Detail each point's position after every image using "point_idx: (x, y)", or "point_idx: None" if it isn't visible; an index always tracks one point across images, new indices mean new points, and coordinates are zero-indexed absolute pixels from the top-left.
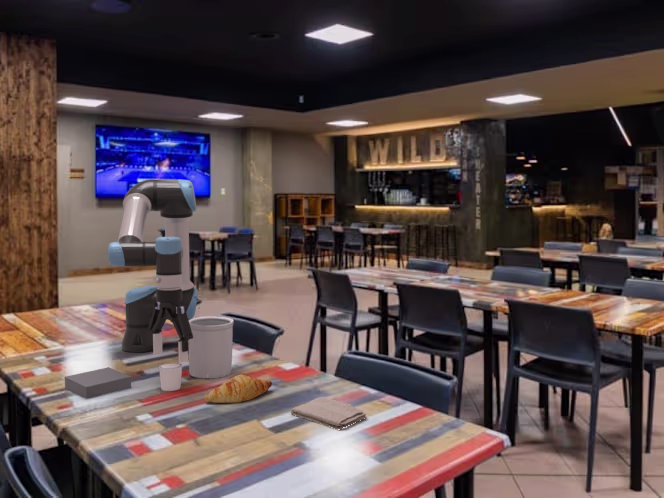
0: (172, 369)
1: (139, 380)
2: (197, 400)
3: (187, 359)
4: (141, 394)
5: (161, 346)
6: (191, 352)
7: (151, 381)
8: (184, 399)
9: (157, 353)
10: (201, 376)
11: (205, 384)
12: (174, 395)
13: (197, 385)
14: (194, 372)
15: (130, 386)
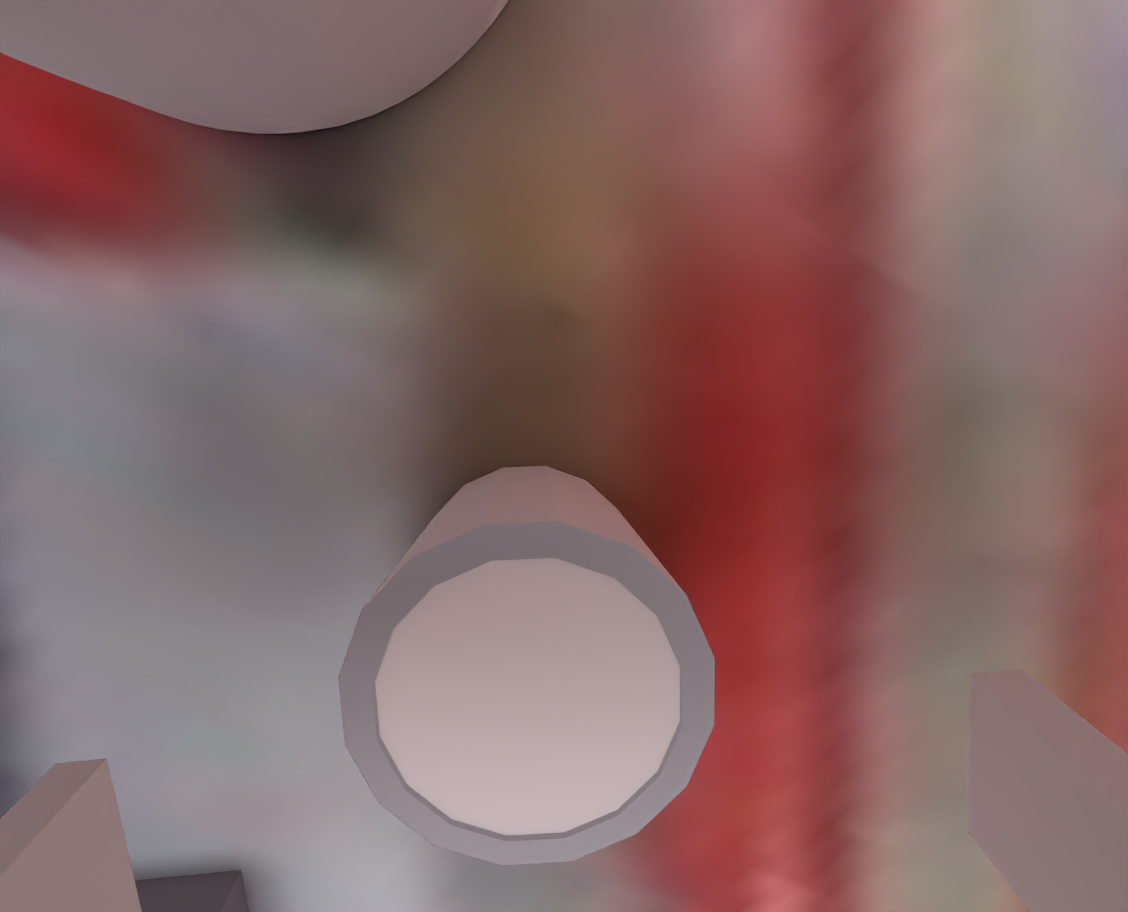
0: (701, 745)
1: (23, 710)
2: (1090, 551)
3: (1048, 701)
4: (519, 875)
5: (10, 890)
6: (96, 53)
7: (147, 625)
8: (964, 633)
9: (114, 877)
10: (431, 78)
11: (689, 185)
12: (781, 652)
13: (654, 285)
14: (310, 120)
15: (235, 890)
